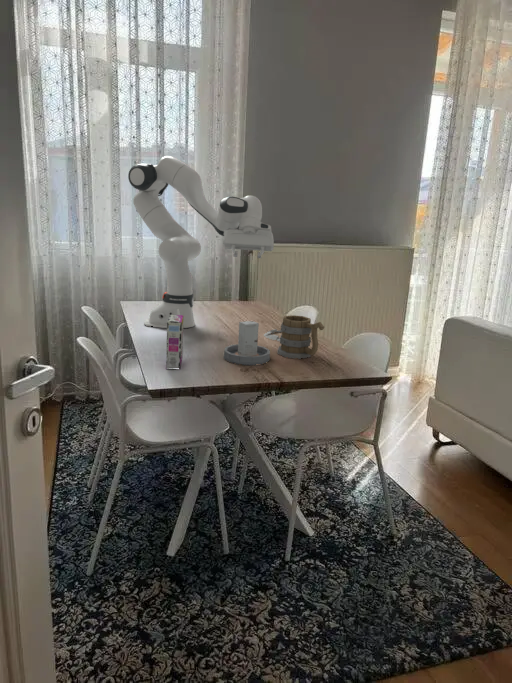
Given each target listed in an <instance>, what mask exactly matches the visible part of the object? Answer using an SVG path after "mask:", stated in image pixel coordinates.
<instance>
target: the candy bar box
mask: <svg viewBox="0 0 512 683" xmlns="http://www.w3.org/2000/svg"><path fill="white" fill-rule="evenodd" d="M183 318H184V316H183V315H170V316H169V319H168V321H167V328H166V358H165V359H166V360H165V363H166V365H165V366H166V367H165V369H166V368H179V370H181V366H182V361H183V348H184V347H183V343H184V342H183V340H184V328H183Z"/></svg>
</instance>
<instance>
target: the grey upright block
mask: <svg viewBox="0 0 512 683" xmlns="http://www.w3.org/2000/svg"><path fill="white" fill-rule="evenodd" d="M238 325H239V326H238V338H237V340H238V342H237V344H238V354H239V355H240V356H255V355H257V345H258V344H259V343H258V342H259V340H258V339H259V325H260V324H259V322H256V321H254V320H249V321H239V324H238Z"/></svg>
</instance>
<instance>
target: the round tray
mask: <svg viewBox="0 0 512 683" xmlns="http://www.w3.org/2000/svg"><path fill="white" fill-rule="evenodd" d="M223 360H224V361H226V360H227V362H228V361H229V362H228V363H230V362H232V363H231V364H234V363H236V364H235V365H239V364H242V365H241V366H257V365H256V364H261V365H264V364H263V363H265V364H267V363H266V362H268V361H269V360H270V361H271V350H270V349H269V348H267V347H265V346H261V345H258V344H257V355H255V356H240V355H239V354H238V343H237V344H230V345H228V346H227V345H226V346H225V347H224V349H223ZM270 361H269V362H270ZM269 362H268V363H269Z"/></svg>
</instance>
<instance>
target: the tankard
mask: <svg viewBox="0 0 512 683" xmlns="http://www.w3.org/2000/svg"><path fill="white" fill-rule="evenodd" d="M324 328H325V326H324V324H323V323H322V322H320V321H319V322H316V323H311V317H307V316H303V315H296V314H293V315H291V314H290V315H285V316H284V317H283V318H282V322H281V324H280V330H281V331H282V332H281V335H280V336H279V338H280V341H279V344H281V345H280V346H278V348H277V351H276V352H277V354H278V355H279V354H280V355H279V356H281V355H282V357H284V358H286V357H288V358H287V359H295V358H298V359H297V360H301V358H303V359H308V358H311V356H315V355H316V353H317V351H318V348H319V340H318V329H319V331H323V330H324ZM310 335H311V336H310ZM311 343H312V347H311V348H310V346H311ZM307 357H308V358H307Z"/></svg>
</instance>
